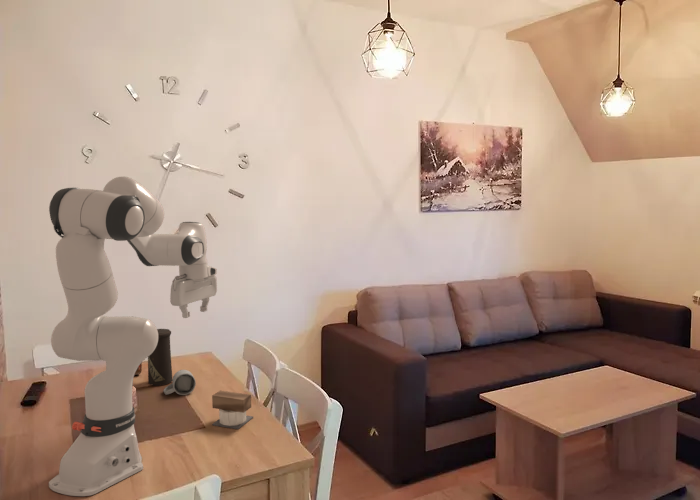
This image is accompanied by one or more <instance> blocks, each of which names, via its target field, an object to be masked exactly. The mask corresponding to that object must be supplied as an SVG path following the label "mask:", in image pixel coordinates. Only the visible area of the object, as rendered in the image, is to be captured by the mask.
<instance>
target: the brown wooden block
mask: <svg viewBox="0 0 700 500" xmlns="http://www.w3.org/2000/svg"><path fill="white" fill-rule="evenodd" d="M211 397H212V398H211V401H212V409H217V410H219V409H222V410H229V411H236V412H242V413H244V412H245V411H246V412H247V411H249V410H250V409H251V408H252V394H249V393H242V392H234V391H226V390H219V391H217V392H215V393H213V394H211Z"/></svg>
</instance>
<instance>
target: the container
mask: <svg viewBox="0 0 700 500" xmlns="http://www.w3.org/2000/svg"><path fill="white" fill-rule="evenodd" d="M157 331H158V343H157V346H156V348H155V350H154V351H153V352H152V354H151V355H150V356H148V357H147V380H148V381H147V382H148V384H149V385H150V386H155V387H156V386H158V387H159V386H165V385H170V384H172V383H173V382H172V380H173V368H172V355H171V351H172V350H171V334H172V331H171V330H170V329H168V328H157Z"/></svg>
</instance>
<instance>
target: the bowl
mask: <svg viewBox="0 0 700 500" xmlns="http://www.w3.org/2000/svg"><path fill="white" fill-rule="evenodd" d="M218 410H219V411H218V415H219V419H220V423H221V424H222V425H227V426H233V425H239V424H242V423H244V422H245V421H246V416H247V411H245V412H244V413H242V412H236V411H229V410H222V409H218Z"/></svg>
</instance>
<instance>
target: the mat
mask: <svg viewBox="0 0 700 500" xmlns="http://www.w3.org/2000/svg"><path fill="white" fill-rule="evenodd" d="M252 419H254V416H251V415H246V421H245V422H244V423H242V424H239V425H233V426H227V425H222V424H221V423H220V418H219V419H217V420H216V421H214V422H213V423H212V424H211V426H215V427H222V428H227V429H232V430H234V429H235V430H239V429H241V428H242V427H243V426H244V425H246V424H247V423H248V422H250V421H251V420H252Z"/></svg>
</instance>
